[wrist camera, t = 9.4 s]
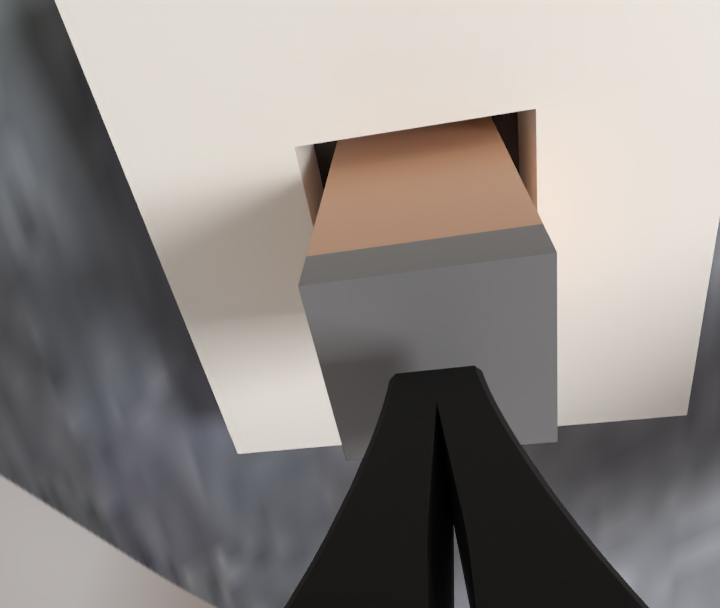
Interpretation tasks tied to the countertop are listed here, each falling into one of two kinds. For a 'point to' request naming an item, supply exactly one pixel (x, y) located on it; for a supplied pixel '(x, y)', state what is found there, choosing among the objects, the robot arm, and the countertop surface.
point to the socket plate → (406, 111)
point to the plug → (431, 276)
